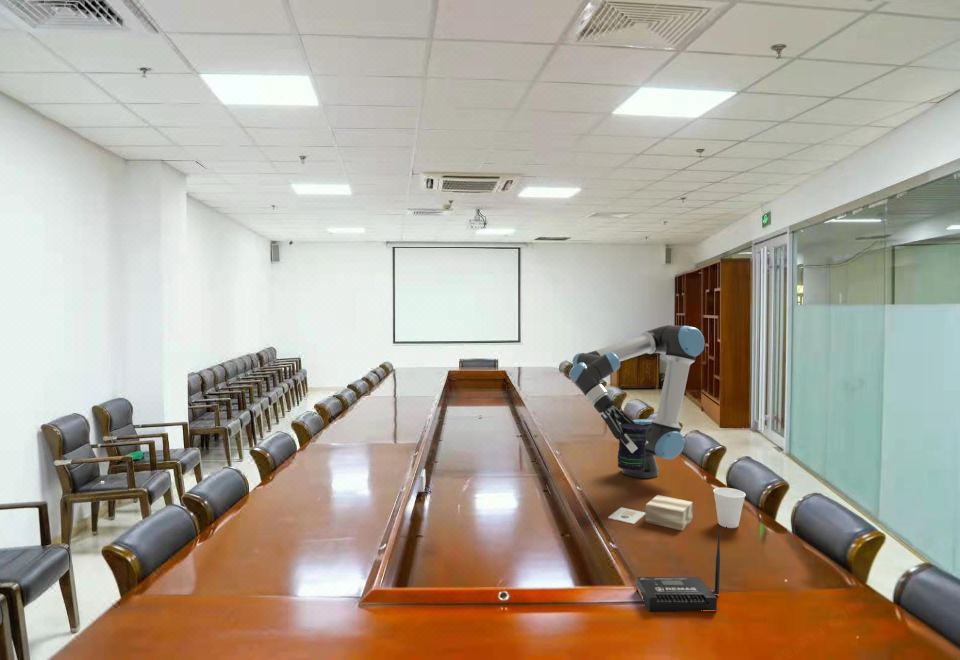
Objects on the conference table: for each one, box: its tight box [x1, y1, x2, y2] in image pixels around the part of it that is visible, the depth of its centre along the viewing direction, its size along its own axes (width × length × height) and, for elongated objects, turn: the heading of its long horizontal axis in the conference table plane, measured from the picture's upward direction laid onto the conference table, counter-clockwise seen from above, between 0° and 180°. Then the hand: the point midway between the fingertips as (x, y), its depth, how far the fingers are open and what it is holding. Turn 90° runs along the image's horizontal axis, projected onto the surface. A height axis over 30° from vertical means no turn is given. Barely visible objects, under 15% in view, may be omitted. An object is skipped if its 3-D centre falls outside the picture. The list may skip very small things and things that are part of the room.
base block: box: [644, 494, 694, 531], centre depth 197 cm, size 12×12×6 cm
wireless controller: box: [636, 529, 721, 613], centre depth 143 cm, size 20×14×17 cm
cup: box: [712, 487, 747, 529], centre depth 193 cm, size 10×10×11 cm
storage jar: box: [617, 423, 647, 471], centre depth 212 cm, size 10×10×15 cm
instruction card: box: [607, 506, 646, 525], centre depth 201 cm, size 12×9×1 cm
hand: (640, 447), depth 211 cm, fingers closed on storage jar, 10 cm apart
